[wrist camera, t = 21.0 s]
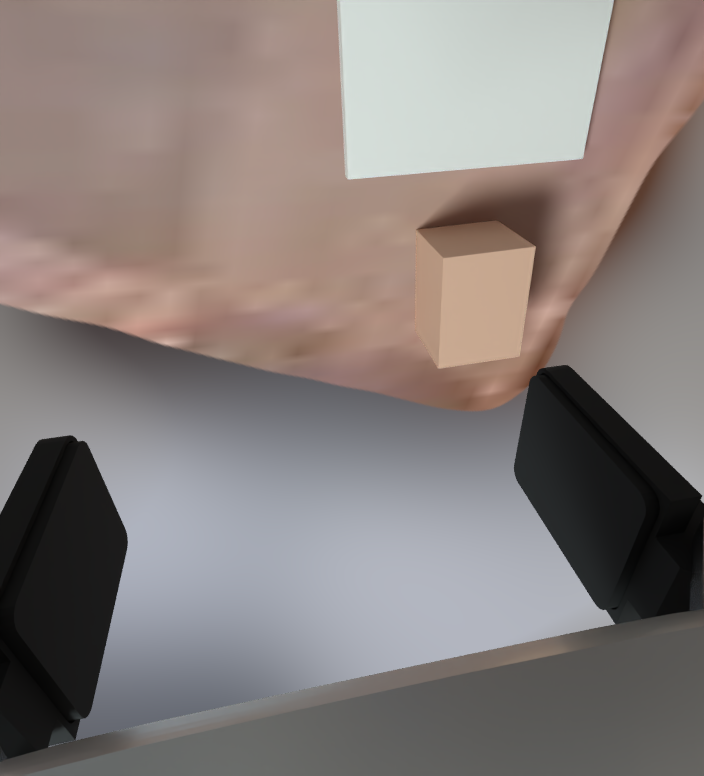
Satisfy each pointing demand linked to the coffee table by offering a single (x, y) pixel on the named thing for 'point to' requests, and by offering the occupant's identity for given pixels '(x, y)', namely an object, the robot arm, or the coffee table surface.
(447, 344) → the tan block
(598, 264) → the coffee table surface
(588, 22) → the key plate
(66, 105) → the coffee table surface
